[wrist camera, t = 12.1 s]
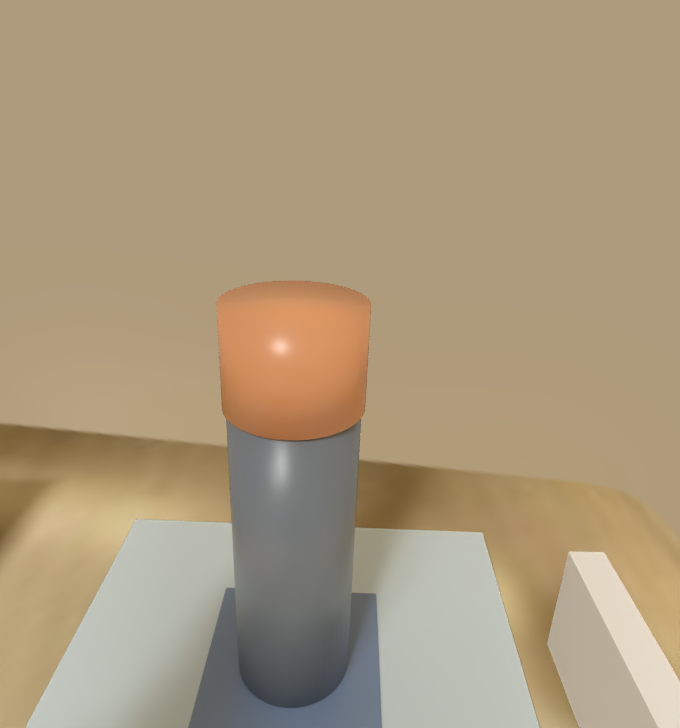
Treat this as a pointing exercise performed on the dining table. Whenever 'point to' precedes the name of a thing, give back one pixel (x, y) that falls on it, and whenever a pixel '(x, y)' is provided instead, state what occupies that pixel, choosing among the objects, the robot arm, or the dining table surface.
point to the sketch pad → (220, 644)
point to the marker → (293, 478)
